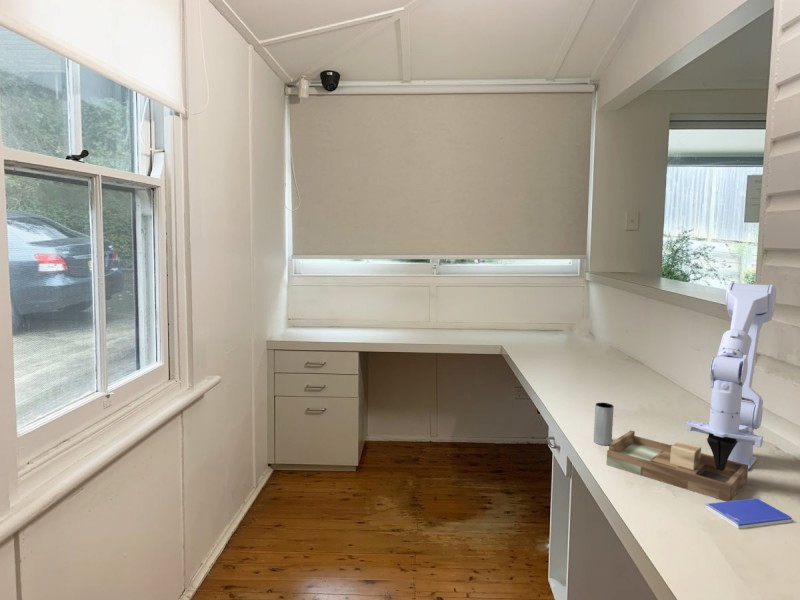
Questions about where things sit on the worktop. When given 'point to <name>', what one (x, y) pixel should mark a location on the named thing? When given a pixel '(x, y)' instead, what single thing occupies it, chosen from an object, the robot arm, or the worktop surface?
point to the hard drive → (748, 513)
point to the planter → (603, 423)
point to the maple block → (685, 455)
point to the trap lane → (675, 467)
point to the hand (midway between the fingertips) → (720, 468)
